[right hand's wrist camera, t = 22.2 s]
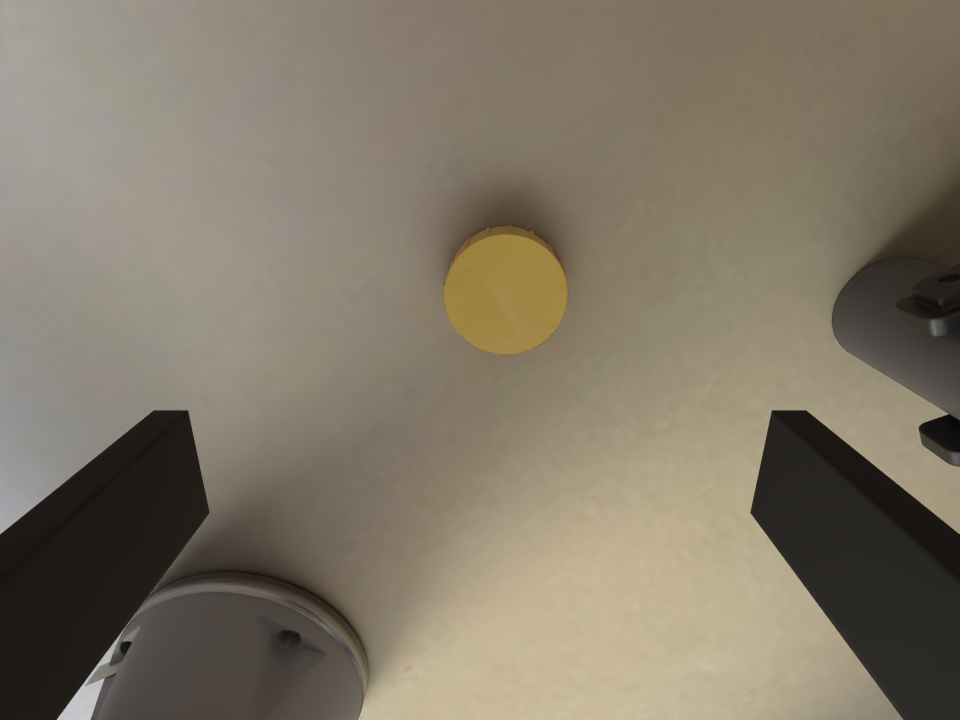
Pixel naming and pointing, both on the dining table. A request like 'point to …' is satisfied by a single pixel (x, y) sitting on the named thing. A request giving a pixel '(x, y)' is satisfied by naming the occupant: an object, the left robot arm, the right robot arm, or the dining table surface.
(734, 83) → the dining table surface
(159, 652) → the right robot arm
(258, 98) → the dining table surface
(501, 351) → the lid
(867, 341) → the jar
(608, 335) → the dining table surface
